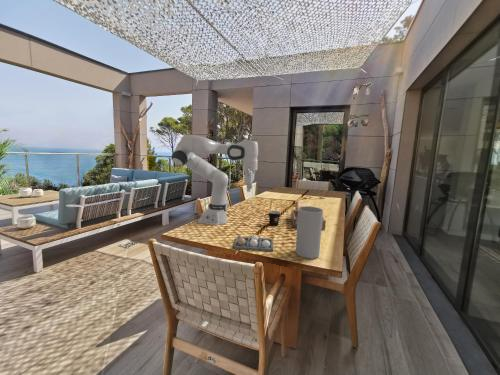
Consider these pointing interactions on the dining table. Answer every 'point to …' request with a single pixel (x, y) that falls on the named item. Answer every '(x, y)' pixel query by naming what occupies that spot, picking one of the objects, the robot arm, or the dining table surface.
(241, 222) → the dining table surface
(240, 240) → the brown egg
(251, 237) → the cream egg
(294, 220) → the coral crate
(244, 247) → the egg tray
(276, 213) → the coffee mug
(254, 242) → the cream egg
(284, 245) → the dining table surface
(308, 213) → the cylinder vase
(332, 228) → the dining table surface
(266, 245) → the cream egg
